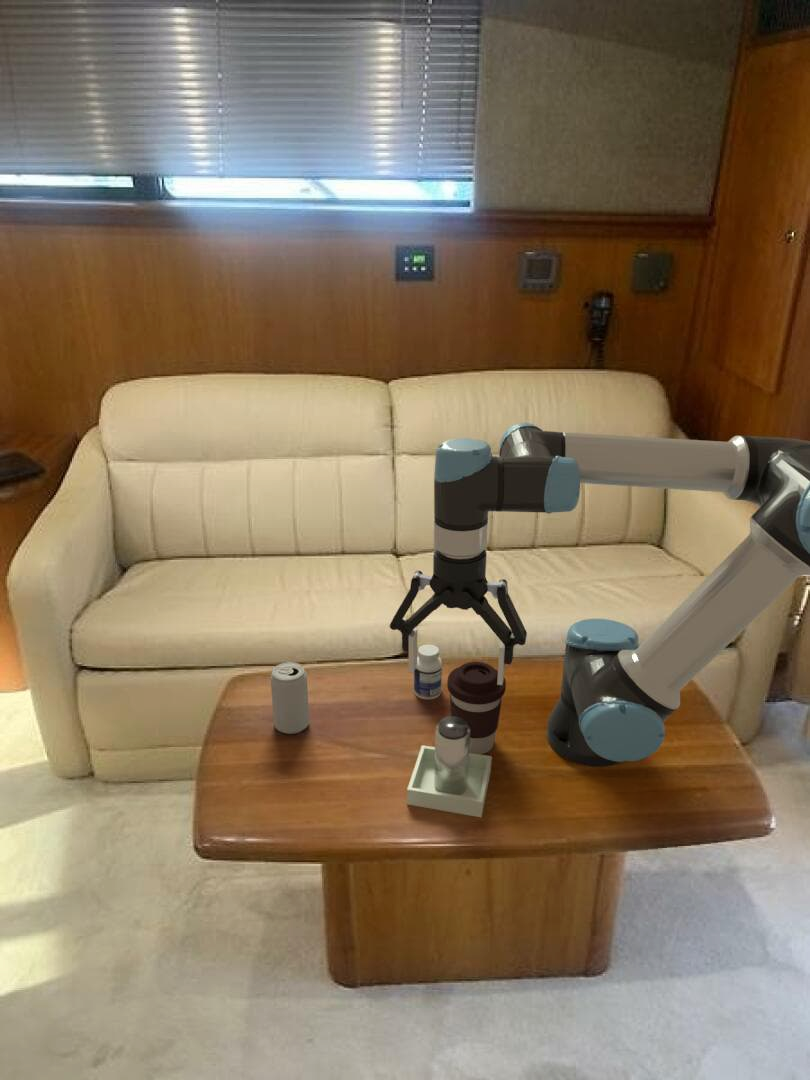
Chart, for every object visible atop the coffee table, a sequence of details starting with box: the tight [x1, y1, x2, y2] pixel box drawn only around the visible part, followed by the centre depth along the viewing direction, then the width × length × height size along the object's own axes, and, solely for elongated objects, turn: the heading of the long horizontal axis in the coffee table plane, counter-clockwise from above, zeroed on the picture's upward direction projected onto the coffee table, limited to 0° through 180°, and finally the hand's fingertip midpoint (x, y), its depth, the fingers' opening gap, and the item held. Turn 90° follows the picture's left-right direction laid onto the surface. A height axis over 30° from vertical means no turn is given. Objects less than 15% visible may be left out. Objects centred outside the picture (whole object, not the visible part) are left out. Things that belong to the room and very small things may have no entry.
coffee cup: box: [446, 661, 507, 755], centre depth 136 cm, size 10×10×15 cm
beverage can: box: [270, 661, 310, 735], centre depth 141 cm, size 6×6×12 cm
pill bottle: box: [413, 644, 443, 700], centre depth 151 cm, size 5×5×10 cm
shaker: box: [434, 715, 470, 795], centre depth 127 cm, size 6×6×12 cm
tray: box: [406, 744, 493, 818], centre depth 129 cm, size 12×11×3 cm
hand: (456, 674), depth 120 cm, fingers open, 13 cm apart
